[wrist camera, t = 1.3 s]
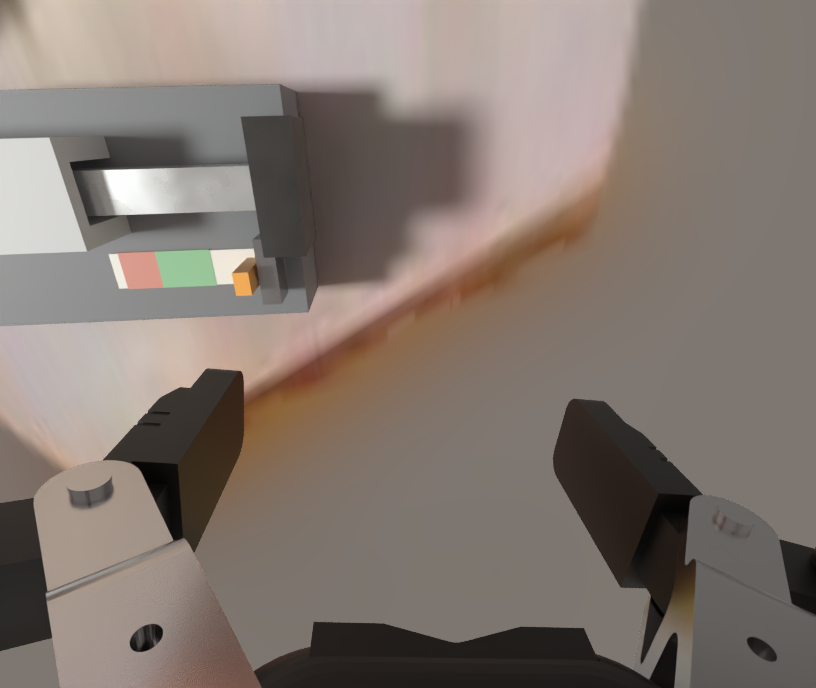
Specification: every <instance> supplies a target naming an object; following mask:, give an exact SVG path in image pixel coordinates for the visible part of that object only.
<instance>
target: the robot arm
mask: <svg viewBox="0 0 816 688" xmlns="http://www.w3.org/2000/svg"><path fill="white" fill-rule="evenodd" d="M243 437H244V380H243V374H242V372H241V371H233V370H221V369H206V370H205V371H204V372H203V373H202V375H201V376H200V377H199V378H198V380H197V381H196V382H195V383H194V384H193V386H192V387H191V388H182V387H180V388H178V389H176V390H174V391H172V392H170V393H168V394H166V395H164V396H162V397H161V398H159V399H158V401H157V402H156V403H155V404H154V405H153V406H152V407H151V408H150V409H149V410H148V414H145V415H144V416H143V417H142V418H141V419H140V420H139V421H138V424H137V425H135V426H134V427H133V428H132V429H131V430H130V431H129V432H128V433H127V434H126V435H125V437H124V438H123V439H122V440H121V441H120V442H119V443H118V444H117V445H116V446H115V447H114V449H113V450H112V451H111V452H110V453H109V454H108V455H107V456H106V457H105V458H104V459H103V461H96V462H90V463H85V464H82V465H78V466H75V467H73V468H70V469H68V470H65V471H63V472H61V473H59V474H57V475H56V476H54V477H53V478H51V479H50V480H48V481H47V482H46V483H44V484H43V485H42V487H41V488H40V489H39V490H38V492H37V493H36V495H35V497H34V498H31V499H25V500H19V501H12V502H5V503H0V651H2V650H6V649H10V648H14V647H18V646H22V645H26V644H30V643H34V642H38V641H42V640H45V639H50V638H52V639H53V645H54V651H55V658H56V664H57V671H58V677H59V683H60V688H816V548H815V549H813V548H809V547H806V546H802V545H799V544H795V543H791V542H787V541H784V540H780V539H779V538H778V535H777V534H776V532H775V531H774V529H773V528H772V527H771V526H770V525H769V524H768V523H767V522H766V521H764V520H763V519H762V518H761V517H760V516H758V515H757V514H755V513H754V512H752V511H750V510H749V509H747V508H745V507H743V506H741V505H739V504H737V503H735V502H732V501H729V500H727V499H724V498H721V497H716V496H711V495H703V494H701V492H700V491H699V490H698V489H697V488H696V487H695V486H694V485H693V484H692V483H691V482H690V481H689V480H688V479H687V478H686V477H685V476H684V475H683V474H682V473H681V472H680V471H679V470H678V469H677V468H676V467H675V466H674V465H673V464H672V463H671V462H668V461H667V458H666V457H665V456H664V455H663V454H662V453H661V452H660V451H659V450H656V447H655V446H654V445H653V444H652V443H651V442H650V441H649V440H648V439H647V438H646V437H645V436H644V435H643V434H642V433H641V432H639V431H637V430H636V429H634V428H632V427H631V426H629V425H628V424H626V423H625V422H624V421H623V420H622V419H621V418H620V417H619V416H618V415H617V414H616V413H615V412H614V411H613V409H612V408H611V407H610V406H609V405H608V404H607V403H605V402H604V401H595V400H583V399H572V400H571V401H570V402H569V404H568V406H567V408H566V411H565V415H564V418H563V422H562V425H561V429H560V433H559V436H558V439H557V443H556V446H555V450H554V455H553V465H554V471H555V474H556V476H557V478H558V480H559V482H560V483H561V485H562V487H563V489H564V490H565V492H566V494H567V495H568V497H569V499H570V501H571V502H572V504H573V506H574V508H575V509H576V511H577V513H578V515H579V516H580V518H581V520H582V522H583V523H584V525H585V527H586V528H587V530H588V532H589V534H590V535H591V537H592V539H593V541H594V542H595V544H596V546H597V547H598V549H599V551H600V552H601V554H602V556H603V558H604V560H605V561H606V563H607V565H608V566H609V568H610V570H611V572H612V573H613V575H614V577H615V579H616V580H617V582H618V584H619V585H620V587H621V588H622V587H623V588H647V590H648V591H649V593H650V594H649V597H648V599H647V601H646V604H645V606H644V611H643V616H642V622H641V627H640V633H639V639H638V644H637V650H636V656H635V661H634V667H633V670H632V669H630V668H628V667H626V666H624V665H622V664H620V663H618V662H616V661H613V660H610V659H608V658H605V657H603V656H600V655H597V654H595V652H594V650H593V648H592V646H591V643H590V641H589V639H588V637H587V635H586V632H585V630H584V628H551V627H519V628H514V629H511V630H507V631H503V632H499V633H495V634H491V635H488V636H484V637H480V638H476V639H473V640H469V641H465V642H460V643H453V642H448V641H444V640H441V639H437V638H434V637H430V636H426V635H423V634H419V633H416V632H411V631H408V630H405V629H401V628H397V627H394V626H390V625H386V624H376V623H332V622H314V625H313V632H312V640H311V647H308V648H304V649H300V650H297V651H294V652H291V653H288V654H286V655H283V656H281V657H278V658H276V659H274V660H272V661H271V662H269V663H267V664H265V665H263V666H262V667H260V668H258V669H257V670H255V671H253V670H252V667H251V665H250V664H249V662H248V660H247V658H246V656H245V654H244V652H243V650H242V648H241V646H240V644H239V642H238V640H237V638H236V636H235V634H234V632H233V630H232V628H231V626H230V624H229V622H228V620H227V618H226V616H225V614H224V612H223V610H222V608H221V606H220V604H219V602H218V600H217V598H216V597H215V594H214V592H213V590H212V589H211V586H210V585H209V582H208V580H207V578H206V576H205V575H204V573H203V571H202V569H201V567H200V565H199V563H198V561H197V559H196V557H195V555H194V552H195V550H196V548H197V546H198V544H199V541H200V539H201V537H202V534H203V533H204V531H205V528H206V526H207V524H208V522H209V520H210V518H211V515H212V513H213V511H214V509H215V507H216V504H217V503H218V500H219V498H220V496H221V494H222V492H223V490H224V488H225V485H226V483H227V481H228V479H229V477H230V475H231V472H232V470H233V468H234V466H235V464H236V462H237V459H238V457H239V455H240V452H241V448H242V444H243Z"/></svg>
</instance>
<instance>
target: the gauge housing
mask: <svg viewBox="0 0 816 688" xmlns="http://www.w3.org/2000/svg"><path fill="white" fill-rule="evenodd" d="M284 115H290V116H296V117H299V116H298V107H297V99H296V92H295V91H293V90H291V89H289V88H287V87H284V86H282V85H280V84H261V85H214V86H168V87H121V88H74V89H27V90H0V326H16V325H38V324H60V323H82V322H104V321H127V320H149V319H171V318H193V317H215V316H237V315H259V314H281V313H303V312H309V309H310V307H311V304H312V301H313V299H314V296H315V293H316V290H317V288H318V282H317V273H316V265H315V256H314V247H313V245H312V247H311V248H310V250H309V252H308V254H307V256H300V257H284V264H285V271H286V278H287V285H288V294H287V296H286V298H285V299H284V301H283V303H282V304H271V305H263V300H262V294H261V289H260V285H259V287H258V288H257V289H256V291H255V292H254V293H253V295H247V296H236V293H235V288H234V283H233V278H232V272H233V271H234V270H235V269H236V268H237V267H238V266H239V265H240V264H241V263H242V262H243V261H244V260H245V259H246V258H252V257H255V254H254V248H253V242H252V239H254V238H255V237H256V236H257V235H258V234H259V233H260V232H259V226H258V220H257V214H256V210H253V211H224V212H195V213H166V214H137V215H108V216H86V213H85V209H84V206H83V203H82V200H81V197H80V194H79V191H78V188H77V185H76V182H75V178H74V175H73V172H72V169H79V168H106V167H140V166H174V165H208V164H242V163H248V159H247V153H246V147H245V140H244V134H243V128H242V122H241V117H244V116H284Z"/></svg>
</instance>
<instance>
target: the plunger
mask: <svg viewBox="0 0 816 688" xmlns="http://www.w3.org/2000/svg"><path fill="white" fill-rule="evenodd" d="M241 122H242V128H243V134H244V140H245V147H246V153H247V159H248V163H242V164H208V165H174V166H140V167H106V168H79V169H72V172H73V175H74V178H75V182H76V185H77V188H78V191H79V194H80V197H81V200H82V203H83V206H84V209H85V213H86V216H108V215H137V214H166V213H195V212H224V211H253V210H256V214H257V220H258V226H259V232H260V233H259V234H258V235H257V236H256V237H255V238H254V239H252V242H253V248H254V254H255V259H256V265H257V271H258V277H259V283H260V289H261V294H262V300H263V305H271V304H282V303H283V301H284V299H285V298H286V296H287V294H288V285H287V278H286V271H285V264H284V257H300V256H307V254H308V252H309V250H310V248H311V247H312V245H313V243H314V241H315V239H316V232H315V223H314V214H313V205H312V196H311V187H310V178H309V169H308V160H307V151H306V142H305V133H304V124H303V118H302V117H296V116H290V115H284V116H244V117H241Z"/></svg>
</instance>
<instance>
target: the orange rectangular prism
mask: <svg viewBox="0 0 816 688" xmlns="http://www.w3.org/2000/svg"><path fill="white" fill-rule="evenodd" d="M232 278H233V283H234V288H235V293H236V296H247V295H253V293H254V292H255V291H256V289H257V288H258V287H259V285H260V283H259V277H258V271H257V265H256V259H255V257H252V258H246V259H245V260H244V261H243V262H242V263H241V264H240V265H239V266H238V267H237V268H236V269H235V270H234V271H233V272H232Z"/></svg>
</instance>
